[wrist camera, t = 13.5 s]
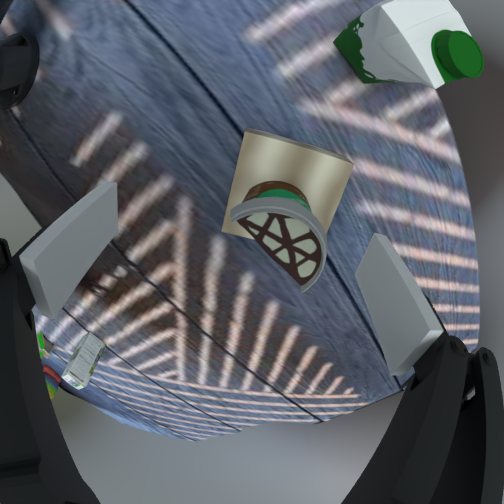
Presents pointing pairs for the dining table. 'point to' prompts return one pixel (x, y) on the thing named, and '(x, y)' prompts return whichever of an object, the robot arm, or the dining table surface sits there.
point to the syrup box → (83, 361)
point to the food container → (284, 229)
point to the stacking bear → (51, 380)
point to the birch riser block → (288, 174)
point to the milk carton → (411, 44)
